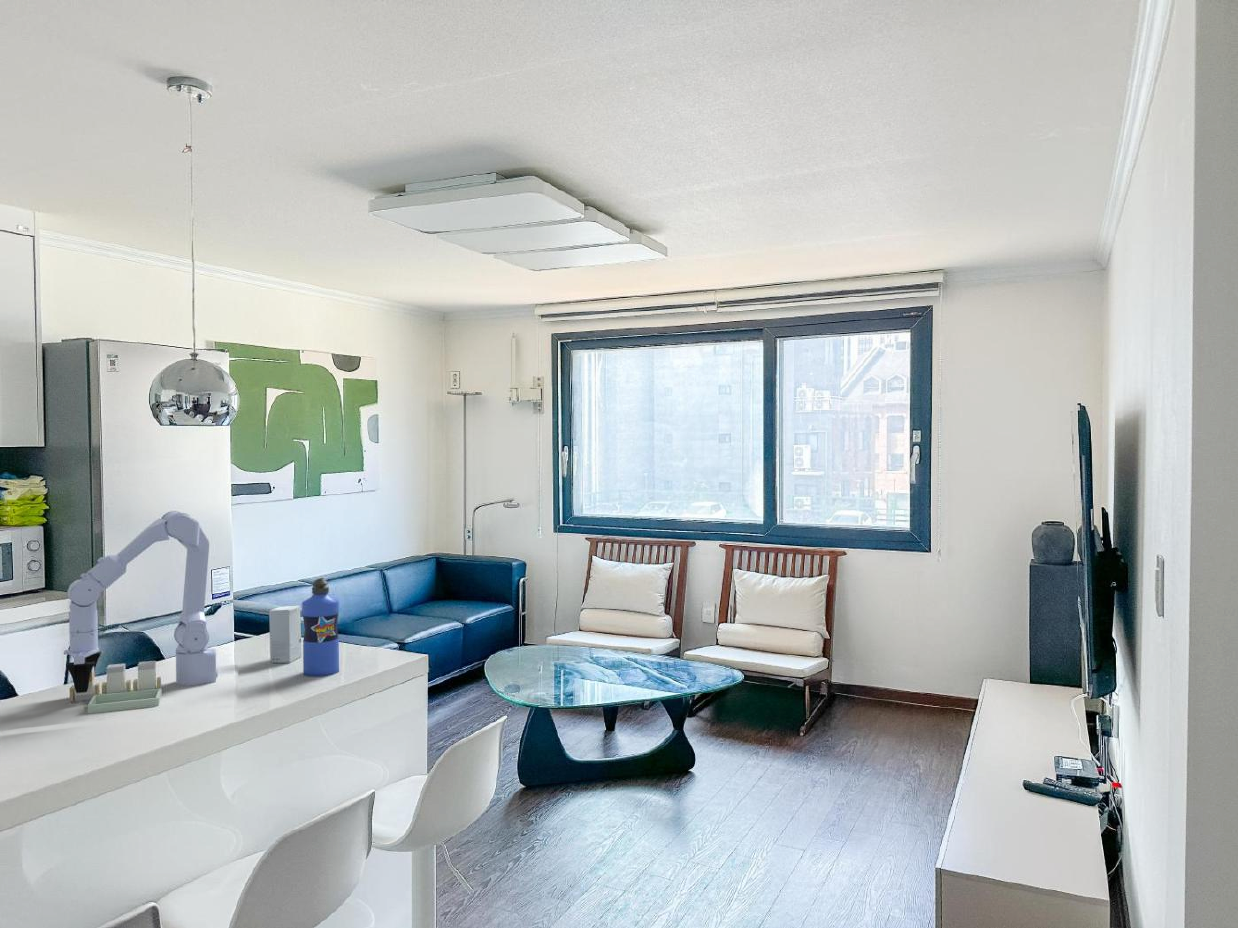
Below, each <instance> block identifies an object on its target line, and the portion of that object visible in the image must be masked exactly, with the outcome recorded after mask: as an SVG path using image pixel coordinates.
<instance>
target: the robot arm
mask: <svg viewBox="0 0 1238 928" xmlns="http://www.w3.org/2000/svg"><path fill="white" fill-rule="evenodd" d="M170 537H171V538H173V539H175V540H177V541H178V542H179V543H180V544H181V545H182V546H183V547H184V548H185V549H186V559H185V560H186V561H185V572H184V584H183V585H184V586H183V587H184V588H183V597H182V608H181V609H182V610H181V613H180V616H179V619H178V621H179V622H178V624H177V626H176V628H175V629H174V633H173V638H174V641H176V643H177V644H178V645H177V647H176V648H175V684H176V685H177V686H195V685H201V684H209V683H210V684H211V683H216V682H217V678H218V669H217V649H216V648H208V643H209V640H210V633H209V631H208V630H207V629H208V628H207V619H206V614H205V607H206V606H205V603H206V592H207V580H208V579H207V577H208V569H209V567H208V565H209V553H210V540H209V539H208V538H207V535H206V534H205V532H204V531H203V529H202V527H201V526H200V522H199V521H198V520H197V519H195V518H194V517H193V516H191V514H189V513H185V512H180V511H176V510H172V511H171V510H170V511H168V512H166V513H164V514H163V515H162V516H161V518H158V519H156V520H154V521H153V522H151V524H149V525H148V526H147V527H145V528H144V530H142V531H141V532H140V533H139V534H138V535H137V536H136V537H134V539H133V540H132V541H130V542H129V543H128V544H127V545H126V546H125V547H124V548H122V549H121V550H120V551H119V552H118V553H117V554H113V555H112V554H109V555H106V556H105V557H102V556H101V557H99V559H97V560H96V562H98V563H96V565H94V566H93V567H92V568H91V569H89V570H88V571H87V572H86V573H85V572H83V573H82V574H80V579H76V580H74V581H73V582H72V583H70V585H69V586H68V589H67V591H66V596H67V597H68V599H69V600H70V602H69V614H68V617H69V618H68V621H69V622H68V623H69V624H68V625H69V626H68V627H69V629H68V630H69V649H65V650H64V651H63V655H69V656H70V657H72V659H73V662H67V663H66V666H65V667H66V669H67V671H68V672H69V673H70V676H71V678H72V682H73V685H74V687H75V690H76V693H82V692H87V690H88V686H89V679H90V674H91V671H92V668H93V666H94V674H95V673H96V672H95V671H96V667H97V664H98V661H99V659H100V657H101V655H102V651H100V648H99V630H98V629H99V628H98V627H99V624H98V623H99V619H98V618H99V617H98V608H97V607H98V606H97V605H98V604H97V602H98V600H99V598H100V597H101V596H100V595H101V592H104V591H106V590H107V589H108V588H109V587H111V586H112V585H113V584H114V583H115V582H117V580H119V579H120V578H121V577H122V576H123V575H124V574H126V572H127V566H128V564H129V563H131V562H132V561H133V560H134V559H135V558H137V557H138V556H140V554H142V553H143V552H145V551H146V550H147V549H148V548H149V547H151V546H152V545H153V544H155V543H157V542H163V541H169V540H170Z"/></svg>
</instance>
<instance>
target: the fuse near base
mask: <svg viewBox="0 0 1238 928" xmlns="http://www.w3.org/2000/svg"><path fill="white" fill-rule="evenodd" d="M156 662H157V661H156V660H149V661H139V662H138V664H137V679H138V691H141V690H151V689H156V688H157V674H156V673H157V670H156V669H157V668H156V667H157V664H156Z"/></svg>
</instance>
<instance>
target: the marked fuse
mask: <svg viewBox="0 0 1238 928" xmlns="http://www.w3.org/2000/svg"><path fill="white" fill-rule="evenodd" d="M94 686H95V673H94V666H93V668H92V671H91V674H90V679H89V686H88V690H87V692H82V693H76V690H75V701H81V700H90V699H92V697H93V696H94Z"/></svg>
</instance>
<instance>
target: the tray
mask: <svg viewBox="0 0 1238 928" xmlns="http://www.w3.org/2000/svg"><path fill="white" fill-rule="evenodd" d="M100 694H101V693H100ZM162 696H163V694H162V688H160V689H151V690H141V691H131V692H121V693H111V694H101V695H94V696H93V697H92V699H91V701H88V704H87V714H95V713H103V712H113V711H122V710H130V709H131V710H132V709H142V708H143V709H144V708H150V707H159V706H160V703H161V701H162Z"/></svg>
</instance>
